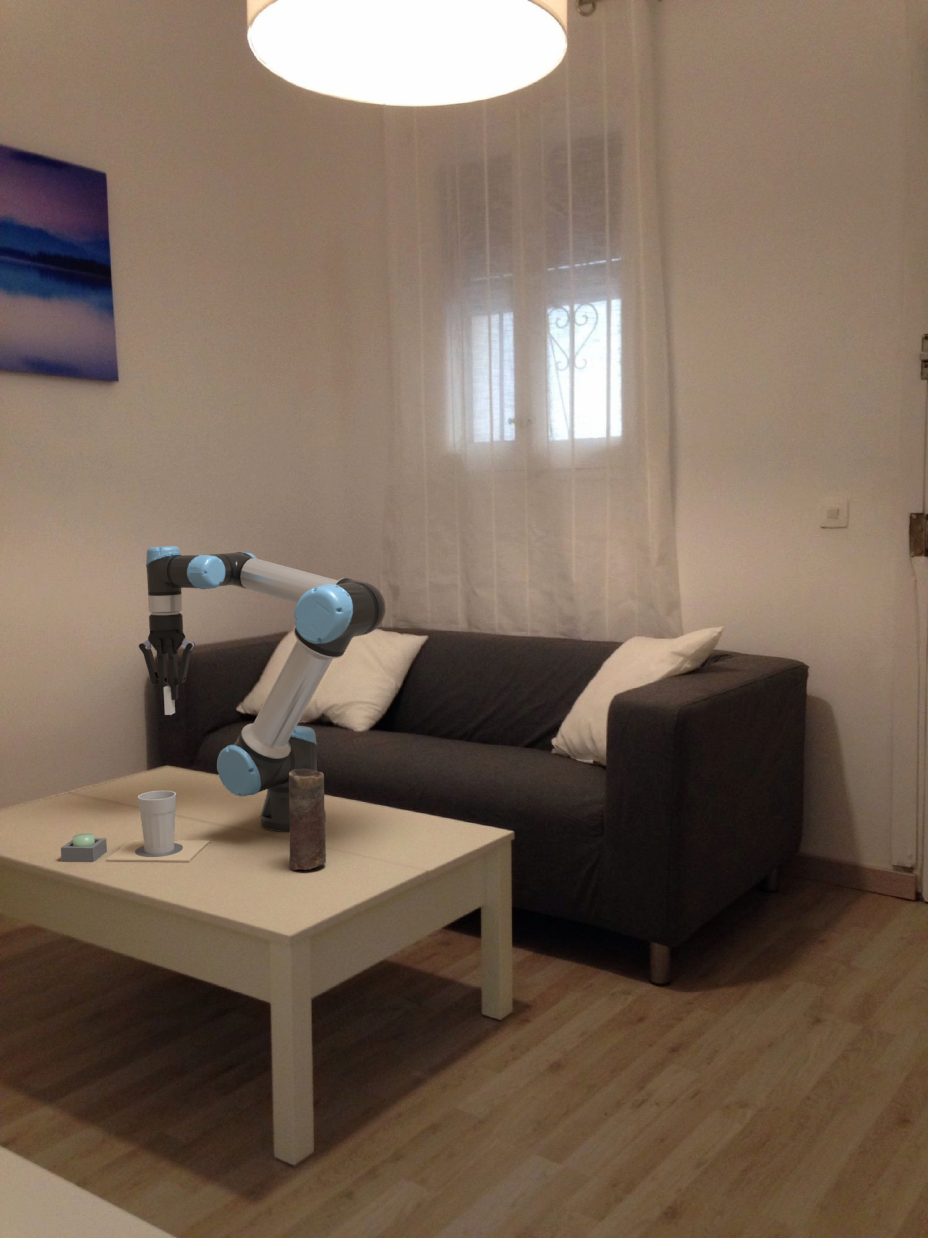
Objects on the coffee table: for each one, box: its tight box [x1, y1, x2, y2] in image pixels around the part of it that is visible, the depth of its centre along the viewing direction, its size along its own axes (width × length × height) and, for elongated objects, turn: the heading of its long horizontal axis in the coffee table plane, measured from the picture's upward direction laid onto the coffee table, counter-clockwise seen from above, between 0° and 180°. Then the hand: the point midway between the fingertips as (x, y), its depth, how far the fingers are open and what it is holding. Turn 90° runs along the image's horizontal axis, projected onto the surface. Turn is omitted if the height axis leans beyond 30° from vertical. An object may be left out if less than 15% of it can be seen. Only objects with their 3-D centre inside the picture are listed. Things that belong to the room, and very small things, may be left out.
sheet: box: [105, 839, 211, 863], centre depth 242 cm, size 18×14×1 cm
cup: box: [137, 790, 177, 854], centre depth 241 cm, size 8×8×12 cm
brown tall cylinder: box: [289, 769, 327, 871], centre depth 229 cm, size 8×7×20 cm
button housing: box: [60, 837, 108, 863], centre depth 239 cm, size 7×7×3 cm
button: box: [72, 832, 95, 847], centre depth 239 cm, size 4×4×4 cm
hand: (169, 713), depth 261 cm, fingers closed
